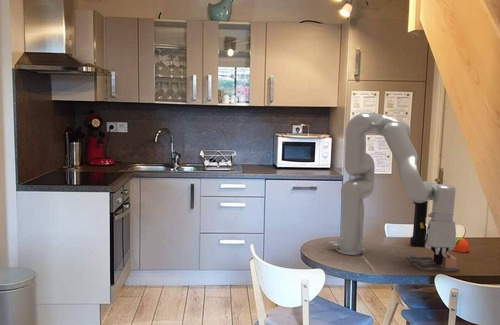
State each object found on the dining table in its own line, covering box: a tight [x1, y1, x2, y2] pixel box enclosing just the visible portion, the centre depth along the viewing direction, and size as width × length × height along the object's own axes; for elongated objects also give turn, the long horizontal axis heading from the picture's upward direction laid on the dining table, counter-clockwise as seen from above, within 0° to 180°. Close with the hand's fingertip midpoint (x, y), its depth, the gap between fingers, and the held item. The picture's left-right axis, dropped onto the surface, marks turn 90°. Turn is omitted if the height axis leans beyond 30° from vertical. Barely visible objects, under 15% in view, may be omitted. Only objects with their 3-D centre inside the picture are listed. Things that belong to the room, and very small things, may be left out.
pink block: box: [440, 252, 458, 268], centre depth 173 cm, size 4×4×5 cm
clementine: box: [453, 237, 470, 254], centre depth 197 cm, size 8×7×7 cm
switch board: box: [406, 255, 460, 273], centre depth 178 cm, size 24×17×2 cm
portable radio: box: [409, 201, 429, 248], centre depth 204 cm, size 8×6×25 cm
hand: (437, 263), depth 173 cm, fingers closed
